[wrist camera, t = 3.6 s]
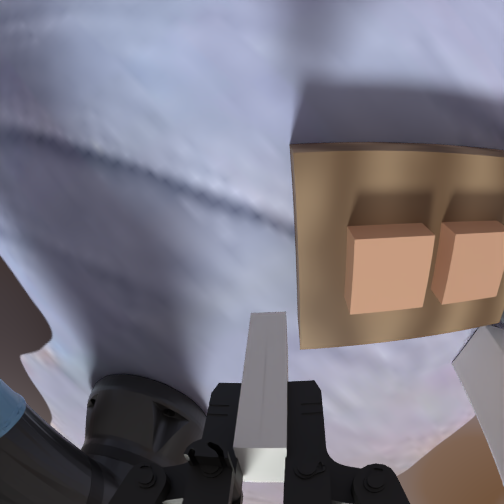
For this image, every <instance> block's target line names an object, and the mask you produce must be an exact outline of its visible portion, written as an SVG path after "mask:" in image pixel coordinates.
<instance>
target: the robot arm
mask: <svg viewBox="0 0 504 504" xmlns="http://www.w3.org/2000/svg"><path fill="white" fill-rule="evenodd" d="M243 480H244V482H284V500H283V504H410V503H409V501H408V499H407V497H406V494H405V492H404V490H403V488H402V486H401V484H400V482H399V480H398V478H397V476H396V474H395V473H394V472H393V470H392V469H391V468H389V467H387V466H386V465H383V464H371V465H367V466H365V467H363V468H362V469H360V468H354V467H349V466H344V465H341V464H338V463H337V462H335V461H334V460H333V459H331V458H330V456H329V455H328V453H327V449H326V441H325V429H324V417H323V406H322V395H321V390H320V388H319V387H318V385H317V384H316V382H315V381H314V380H312V381H292V382H288V346H287V322H286V312H267V313H251V316H250V324H249V332H248V339H247V347H246V354H245V362H244V370H243V377H242V383H219V384H218V385H217V386H216V388H215V389H214V390H213V392H212V393H211V398H210V402H209V407H208V412H207V416H205V414H204V412H203V411H202V410H201V409H200V408H199V407H198V406H197V405H196V404H195V403H194V402H193V401H192V400H190V399H189V398H188V397H186V396H185V395H183V394H182V393H180V392H178V391H176V390H175V389H173V388H171V387H169V386H166V385H164V384H162V383H159V382H156V381H154V380H150V379H147V378H143V377H139V376H133V375H111V376H107V377H104V378H102V379H100V380H99V381H98V382H97V383H96V385H95V387H94V389H93V390H92V392H91V394H90V396H89V399H88V404H87V415H86V428H85V441H84V444H83V447H82V449H81V450H80V449H79V448H77V447H76V446H75V445H73V444H72V443H71V442H70V441H68V440H67V439H66V438H65V437H63V436H62V435H61V434H60V433H59V432H57V431H56V430H55V429H54V428H53V427H52V426H50V425H49V424H48V423H47V422H46V421H45V420H44V419H42V418H41V417H40V416H39V415H38V414H37V413H36V412H35V411H34V410H33V409H32V408H31V407H29V406H28V405H27V404H26V402H25V400H24V398H23V397H22V396H21V395H20V394H18V393H16V392H14V391H13V390H12V389H10V387H8V386H7V385H6V384H5V383H4V382H3V381H2V380H1V379H0V504H242V502H243V493H242V481H243Z"/></svg>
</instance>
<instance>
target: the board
mask: <svg viewBox="0 0 504 504" xmlns="http://www.w3.org/2000/svg"><path fill="white" fill-rule="evenodd" d="M290 157H291V172H292V187H293V205H294V224H295V246H296V272H297V306H298V326H299V338H300V350H301V349H317V348H330V347H342V346H353V345H363V344H372V343H381V342H389V341H397V340H404V339H412V338H419V337H425V336H432V335H438V334H444V333H450V332H455V331H461V330H466V329H471V328H477V327H481V326H486V325H491V324H496V323H499V322H500V319H501V316H502V313H503V311H504V271H503V275H502V278H501V282H500V285H499V289H498V292H497V296H496V297H490V298H484V299H477V300H471V301H464V302H457V303H450V304H443V305H442V304H441V303H440V301H439V300H438V298H437V297H436V296H435V294H434V293H433V291H432V290H431V285H432V280H433V275H434V269H435V264H436V258H437V252H438V245H439V238H440V231H441V223H442V222H461V221H498V222H500V223H501V224H503V225H504V150H496V149H487V148H478V147H467V146H455V145H440V144H422V143H392V142H338V143H307V144H290ZM406 223H423V224H424V225H425V226H426V227H427V228H428V229H429V230H430V231H431V232H432V233H433V234H434V235H435V240H434V247H433V254H432V260H431V266H430V272H429V278H428V283H427V288H426V293H425V298H424V303H423V307H420V308H411V309H402V310H393V311H384V312H374V313H363V314H352V315H350V313H349V310H348V307H347V304H346V300H345V297H344V295H345V277H346V254H347V226H362V225H383V224H406Z"/></svg>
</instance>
